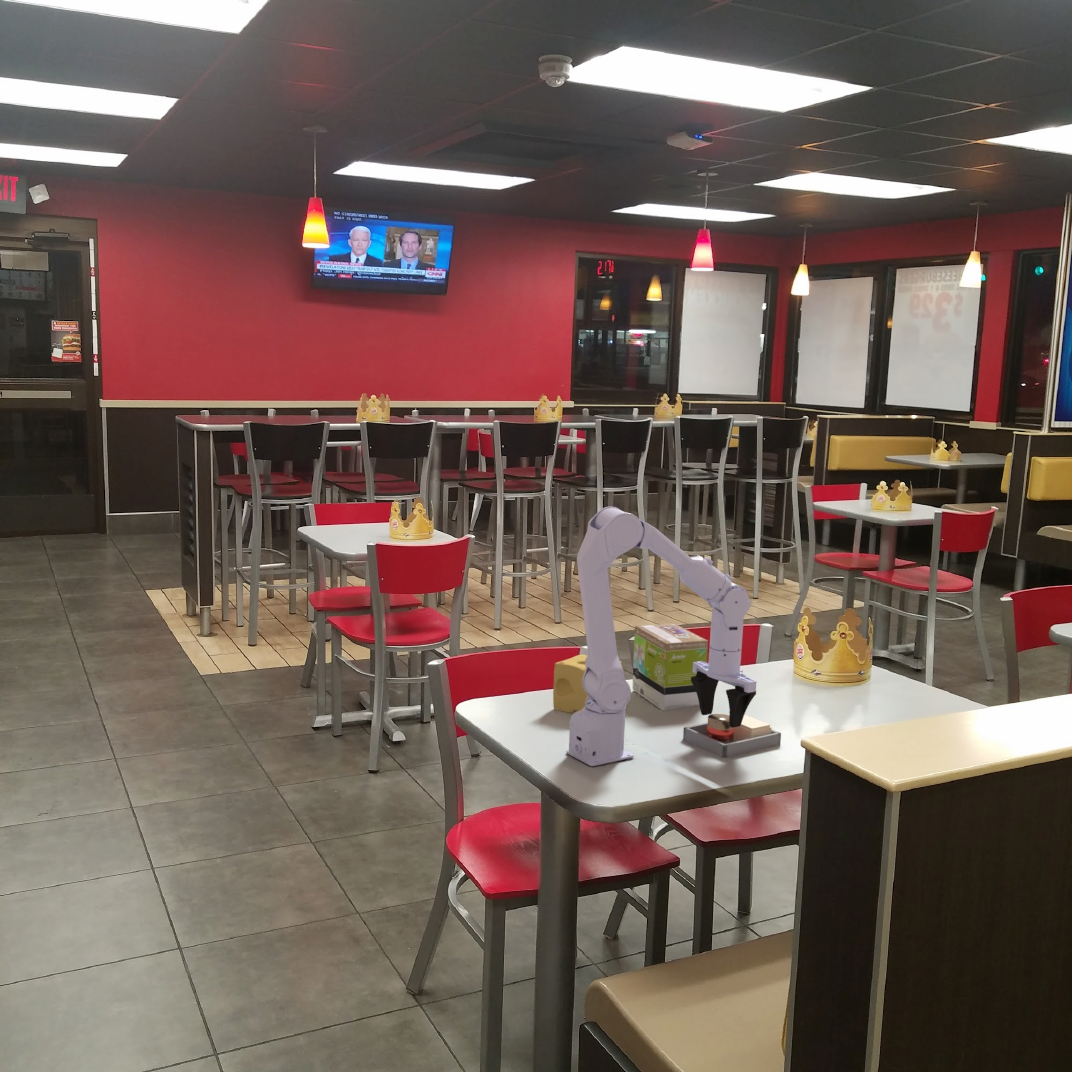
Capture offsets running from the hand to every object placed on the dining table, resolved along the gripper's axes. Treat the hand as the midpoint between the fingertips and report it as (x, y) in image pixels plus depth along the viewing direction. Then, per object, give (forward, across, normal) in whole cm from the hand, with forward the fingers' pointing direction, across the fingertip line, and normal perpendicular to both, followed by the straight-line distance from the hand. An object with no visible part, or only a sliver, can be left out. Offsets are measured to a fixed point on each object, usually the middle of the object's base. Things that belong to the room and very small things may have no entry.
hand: (720, 720), depth 191 cm
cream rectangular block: (+5, 0, -7) cm, 8 cm away
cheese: (+6, +30, +8) cm, 32 cm away
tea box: (+6, +28, -11) cm, 30 cm away
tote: (+5, 0, -3) cm, 6 cm away
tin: (+5, 0, 0) cm, 5 cm away
